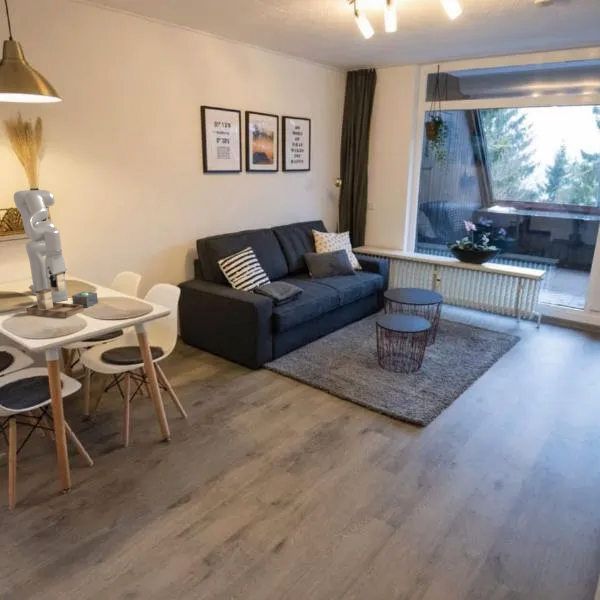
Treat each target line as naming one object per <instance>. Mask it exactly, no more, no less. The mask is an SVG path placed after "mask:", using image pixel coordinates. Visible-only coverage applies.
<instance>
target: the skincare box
mask: <svg viewBox="0 0 600 600" xmlns="http://www.w3.org/2000/svg"><path fill="white" fill-rule="evenodd" d="M46 279H47V285H48V289H51V287H50V280H49V278H48V277H46ZM64 283H65V290H62V291H59V292H57V291H51V294H52V302H56V303H60V302H62V301H68V299H69V298H68V291H67V285H66V284H67V282H66V277H65V274H64Z"/></svg>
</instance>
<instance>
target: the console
mask: <svg viewBox="0 0 600 600" xmlns="http://www.w3.org/2000/svg"><path fill="white" fill-rule="evenodd" d="M81 293H88V294H89V295H86V296H82V295H81ZM71 299H72V300H71V301H72V304H77V305H83V308H86V309H87V308H91V307H93V306H95V305H97V304H99V302H98V301H99V300H98V292H90V291H81V292H77V293H75V294H73V295H71Z"/></svg>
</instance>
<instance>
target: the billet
mask: <svg viewBox="0 0 600 600" xmlns="http://www.w3.org/2000/svg"><path fill="white" fill-rule="evenodd" d="M51 274H52V273H51ZM64 275H65V274H64V272H60V273H57V274H56V275H55V280H56V283H57V287H51V281H50V287H51V291H57V292H59V291H62V290H65V283H66V282H65V283H64ZM52 277H53V275H52Z"/></svg>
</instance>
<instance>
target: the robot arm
mask: <svg viewBox="0 0 600 600" xmlns="http://www.w3.org/2000/svg"><path fill="white" fill-rule="evenodd" d="M13 201H14V204H15V207H16V209H17V211H18V212H19V214H20V215H21V220H22V224H23V229H24V232H25V235H26V237H27V238H28V239H30V240H29V241H28V242H27V243H25V250H26V253H27V256H28V260H29V261H28V262H29V266H30V272H31V279H32V284H30V286H28V288H29V289H30V290H31V289H32V290H31V292H30V293H31V295H33V296H36V290H39V289H42V288H44V289H48V285H47V279H46V277H48V278H49V280H50V281H51V287H57V283H56V280H55V275H56V274H57V273H60V272H64V275H65V274H66V272H67V270H68V269H67V268H66V264H65V260H64V259H65V258H64V255H63V251H62V243H61V235H60V230H58V229H57V228H56V227H55V224H54V223H53V222H52V221H50V220H45V219H46V218H47V217H48V216H49V212H48V209H47V207H51V206H54V204H55V196H54V195H53V192H51V191H49V190H45V189H43V190H42V189H37V190H33V189H32V190H29V189H27V190H17V191H15V192H14V194H13ZM44 220H45V221H44ZM51 273H52V274H51ZM52 275H53V277H52Z"/></svg>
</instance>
